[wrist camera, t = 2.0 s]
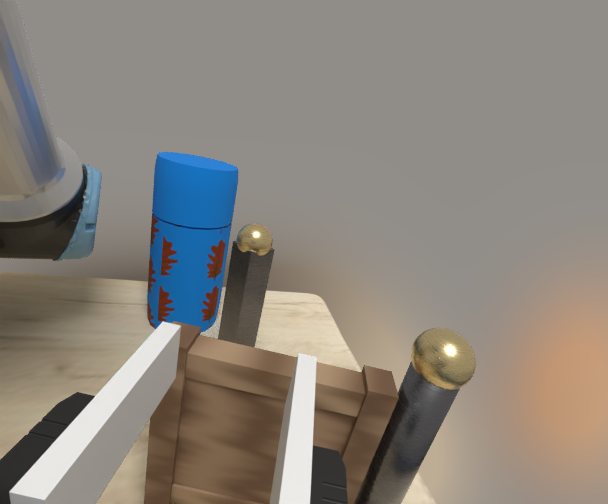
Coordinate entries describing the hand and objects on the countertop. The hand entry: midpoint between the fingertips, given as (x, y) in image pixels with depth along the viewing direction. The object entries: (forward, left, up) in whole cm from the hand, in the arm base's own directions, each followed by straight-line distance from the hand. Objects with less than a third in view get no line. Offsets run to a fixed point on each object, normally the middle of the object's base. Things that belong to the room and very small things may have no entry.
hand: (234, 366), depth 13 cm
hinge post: (0, +14, -22) cm, 26 cm away
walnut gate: (-5, +5, -20) cm, 22 cm away
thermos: (-36, +4, -22) cm, 42 cm away
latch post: (-18, +7, -22) cm, 30 cm away
